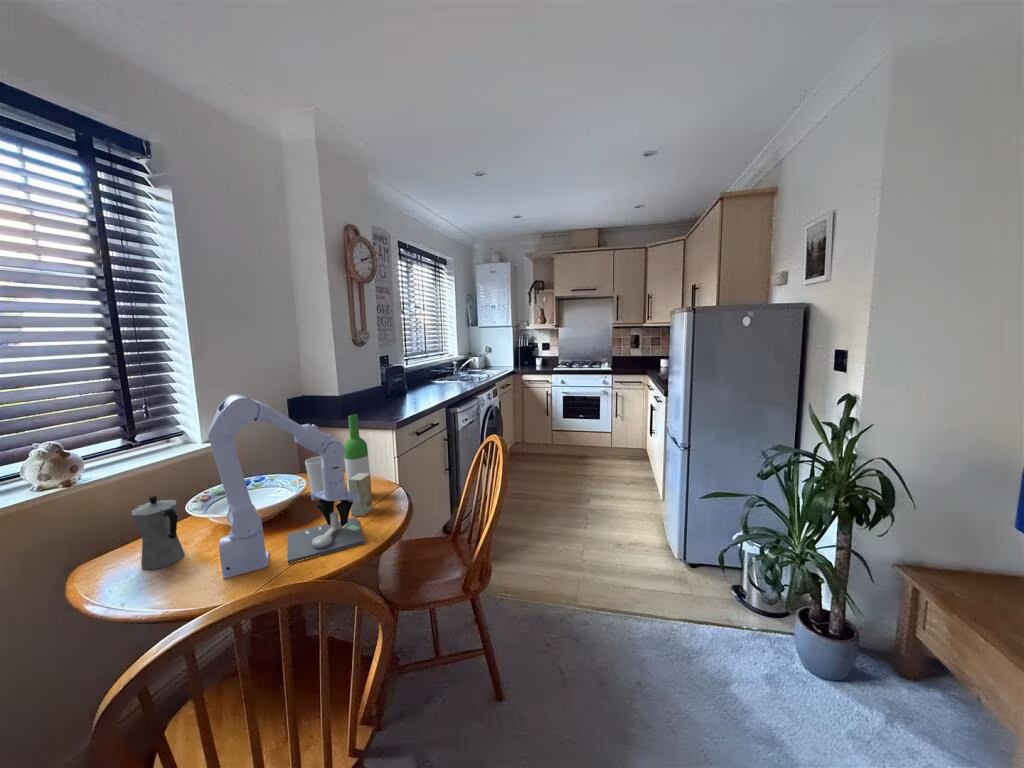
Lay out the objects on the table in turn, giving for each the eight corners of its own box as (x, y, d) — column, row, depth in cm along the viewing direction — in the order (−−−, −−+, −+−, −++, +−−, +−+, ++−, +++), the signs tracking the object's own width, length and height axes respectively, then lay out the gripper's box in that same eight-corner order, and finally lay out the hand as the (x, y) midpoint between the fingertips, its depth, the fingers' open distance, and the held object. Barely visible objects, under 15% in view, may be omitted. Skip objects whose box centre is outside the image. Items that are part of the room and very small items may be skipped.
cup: (303, 494, 148) (299, 463, 146) (317, 485, 155) (314, 455, 154) (323, 495, 146) (319, 463, 144) (336, 486, 154) (333, 456, 152)
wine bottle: (343, 499, 143) (335, 416, 138) (363, 491, 149) (356, 411, 144) (356, 504, 138) (349, 418, 134) (376, 496, 144) (369, 414, 140)
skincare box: (363, 516, 129) (359, 480, 127) (350, 515, 130) (347, 479, 128) (373, 507, 135) (370, 472, 133) (362, 506, 136) (358, 472, 134)
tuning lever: (326, 548, 109) (324, 530, 108) (308, 548, 109) (306, 530, 108) (348, 523, 122) (347, 507, 121) (332, 523, 122) (331, 507, 122)
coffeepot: (127, 564, 106) (115, 500, 103) (169, 546, 115) (159, 486, 112) (161, 577, 100) (150, 509, 97) (203, 557, 108) (193, 493, 106)
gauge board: (287, 564, 104) (287, 560, 104) (288, 536, 118) (287, 533, 118) (365, 543, 113) (364, 539, 113) (356, 519, 127) (356, 516, 127)
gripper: (364, 475, 119) (367, 519, 121) (320, 473, 122) (324, 515, 124) (350, 485, 112) (354, 530, 114) (304, 482, 115) (308, 527, 117)
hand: (337, 523), depth 118 cm, fingers open, 4 cm apart
